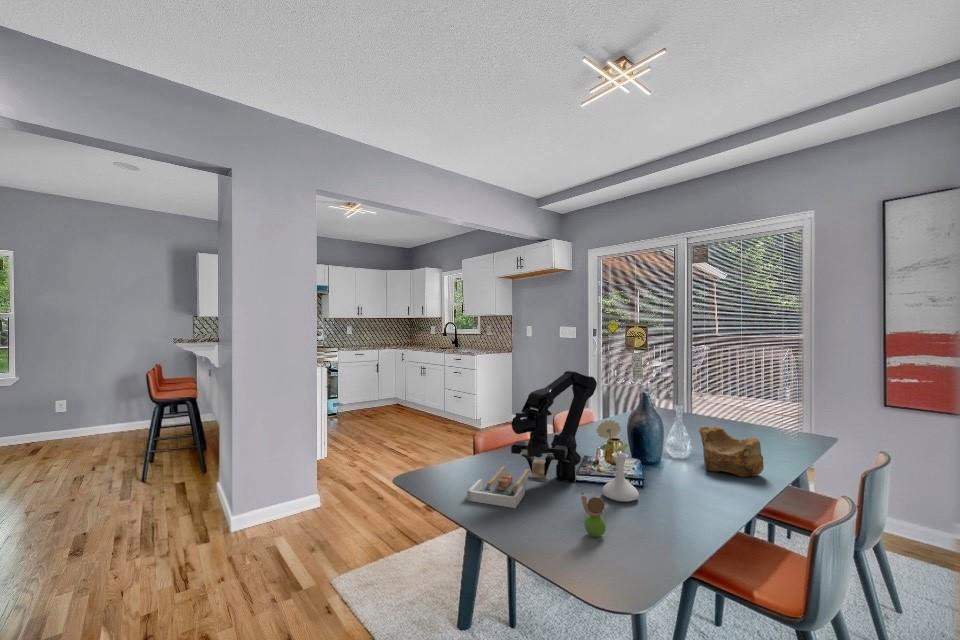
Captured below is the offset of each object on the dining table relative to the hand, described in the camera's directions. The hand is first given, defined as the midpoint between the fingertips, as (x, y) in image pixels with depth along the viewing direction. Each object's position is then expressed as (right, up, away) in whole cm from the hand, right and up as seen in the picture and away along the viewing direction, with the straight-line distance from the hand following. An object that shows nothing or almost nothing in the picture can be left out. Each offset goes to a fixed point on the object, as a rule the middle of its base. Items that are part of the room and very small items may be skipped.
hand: (539, 474), depth 143 cm
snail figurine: (+10, -4, -32) cm, 34 cm away
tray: (-15, -5, -8) cm, 17 cm away
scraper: (0, -2, 0) cm, 2 cm away
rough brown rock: (+73, -5, +16) cm, 75 cm away
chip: (-12, -5, 0) cm, 13 cm away
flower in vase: (+24, -5, -8) cm, 26 cm away
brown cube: (-11, -5, +4) cm, 12 cm away
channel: (-10, -5, +6) cm, 12 cm away
